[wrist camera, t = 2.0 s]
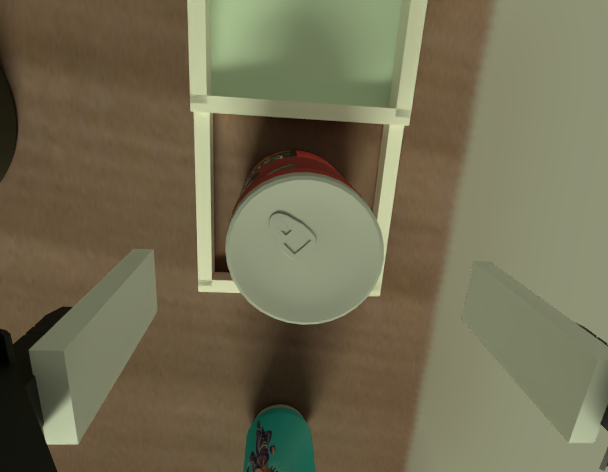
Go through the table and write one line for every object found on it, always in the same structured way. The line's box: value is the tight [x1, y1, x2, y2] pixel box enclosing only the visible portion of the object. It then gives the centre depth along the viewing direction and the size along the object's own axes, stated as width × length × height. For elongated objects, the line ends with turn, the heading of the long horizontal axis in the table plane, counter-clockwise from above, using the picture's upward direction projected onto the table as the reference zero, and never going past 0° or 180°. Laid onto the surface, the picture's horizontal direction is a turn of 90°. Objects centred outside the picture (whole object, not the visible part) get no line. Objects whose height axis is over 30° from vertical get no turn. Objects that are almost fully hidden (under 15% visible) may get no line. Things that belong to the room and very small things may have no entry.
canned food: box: [225, 150, 384, 325], centre depth 23 cm, size 8×8×11 cm
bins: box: [187, 0, 427, 296], centre depth 25 cm, size 27×14×2 cm, turn 176°
